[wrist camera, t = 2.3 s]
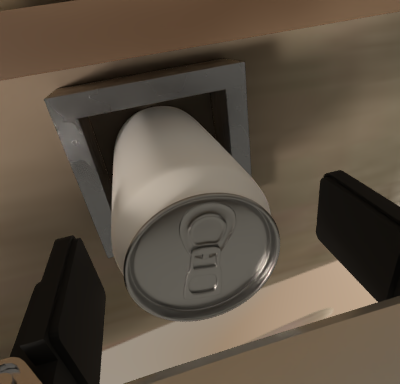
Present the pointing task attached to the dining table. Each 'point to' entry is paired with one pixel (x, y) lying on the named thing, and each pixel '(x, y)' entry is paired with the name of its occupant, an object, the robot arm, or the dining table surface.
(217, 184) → the can
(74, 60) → the brown wooden plank
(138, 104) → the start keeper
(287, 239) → the dining table surface
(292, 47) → the dining table surface
